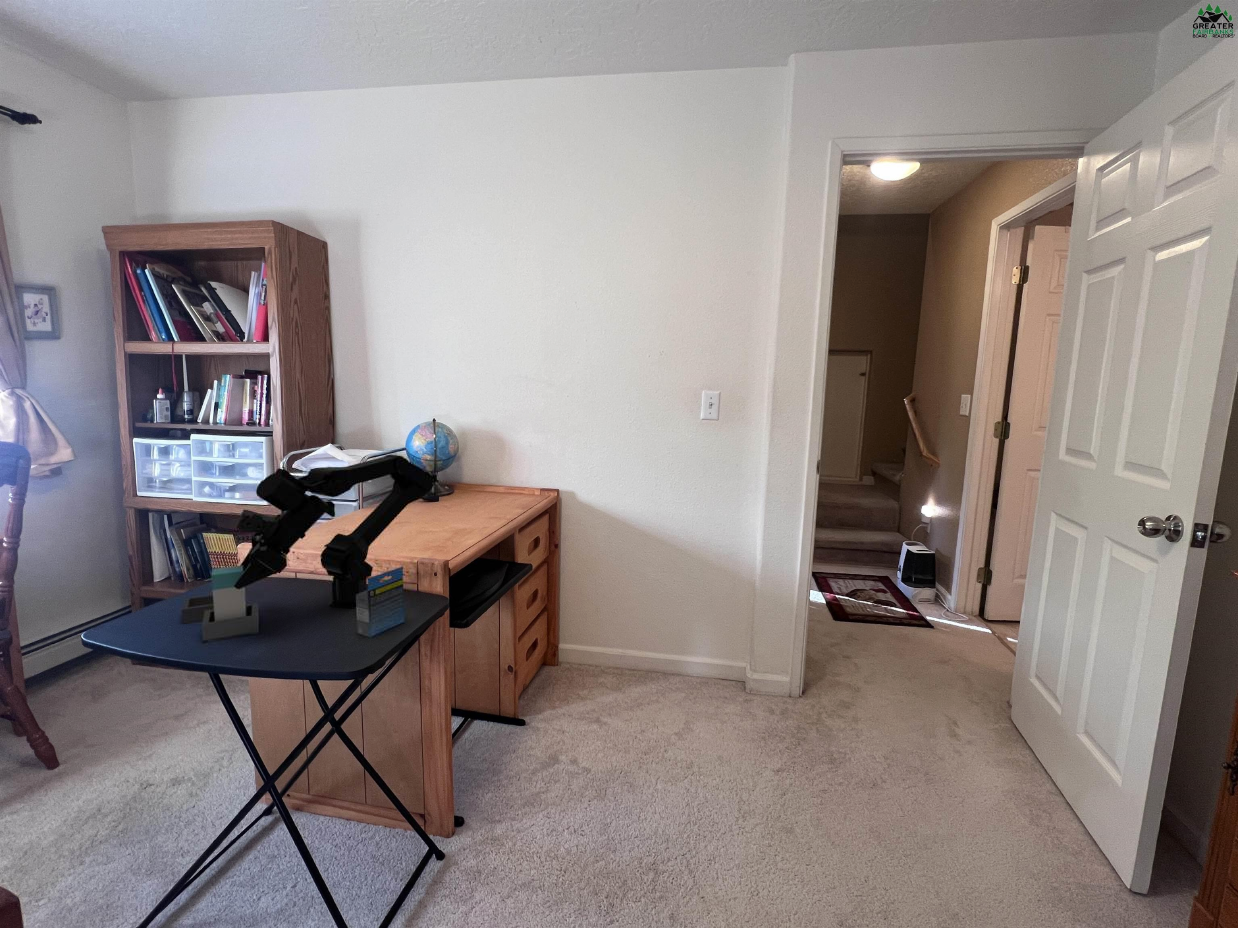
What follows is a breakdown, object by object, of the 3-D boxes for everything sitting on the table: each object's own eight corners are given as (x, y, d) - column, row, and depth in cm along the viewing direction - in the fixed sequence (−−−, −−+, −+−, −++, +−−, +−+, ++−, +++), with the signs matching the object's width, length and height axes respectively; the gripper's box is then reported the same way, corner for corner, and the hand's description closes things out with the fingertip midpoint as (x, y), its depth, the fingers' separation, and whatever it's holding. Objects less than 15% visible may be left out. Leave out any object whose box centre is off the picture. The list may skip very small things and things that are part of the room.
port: (258, 618, 121) (257, 602, 121) (258, 633, 115) (257, 616, 114) (206, 627, 117) (204, 610, 116) (203, 642, 110) (201, 625, 109)
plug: (246, 621, 118) (243, 565, 117) (246, 629, 115) (242, 571, 113) (217, 626, 116) (212, 569, 114) (216, 634, 112) (211, 575, 111)
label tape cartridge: (392, 618, 123) (390, 562, 122) (405, 622, 122) (404, 565, 120) (356, 633, 115) (354, 574, 114) (370, 638, 114) (367, 578, 112)
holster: (231, 604, 128) (231, 591, 128) (230, 616, 122) (229, 602, 122) (186, 611, 124) (185, 598, 123) (182, 623, 118) (181, 609, 117)
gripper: (263, 487, 123) (204, 544, 119) (262, 505, 107) (194, 571, 103) (307, 519, 128) (251, 575, 124) (312, 540, 113) (249, 605, 109)
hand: (237, 580), depth 115 cm, fingers open, 9 cm apart
